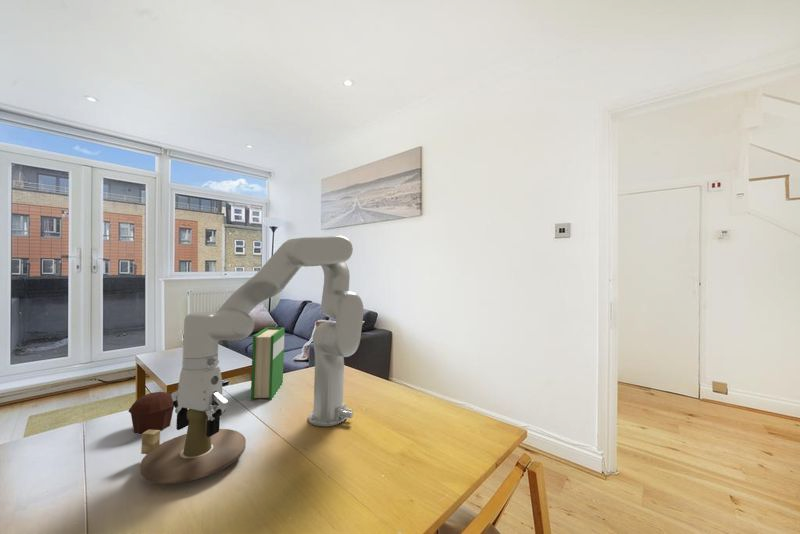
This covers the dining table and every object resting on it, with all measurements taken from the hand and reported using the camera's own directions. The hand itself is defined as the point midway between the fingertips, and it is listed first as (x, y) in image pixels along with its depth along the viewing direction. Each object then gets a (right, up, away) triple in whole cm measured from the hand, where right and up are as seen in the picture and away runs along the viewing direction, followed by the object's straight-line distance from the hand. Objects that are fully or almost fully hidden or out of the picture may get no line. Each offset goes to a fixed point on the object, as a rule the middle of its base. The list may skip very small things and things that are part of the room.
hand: (197, 430), depth 80 cm
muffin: (-24, -8, +17) cm, 31 cm away
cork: (0, -5, 0) cm, 5 cm away
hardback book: (-2, -9, +48) cm, 48 cm away
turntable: (-1, -6, 0) cm, 6 cm away
